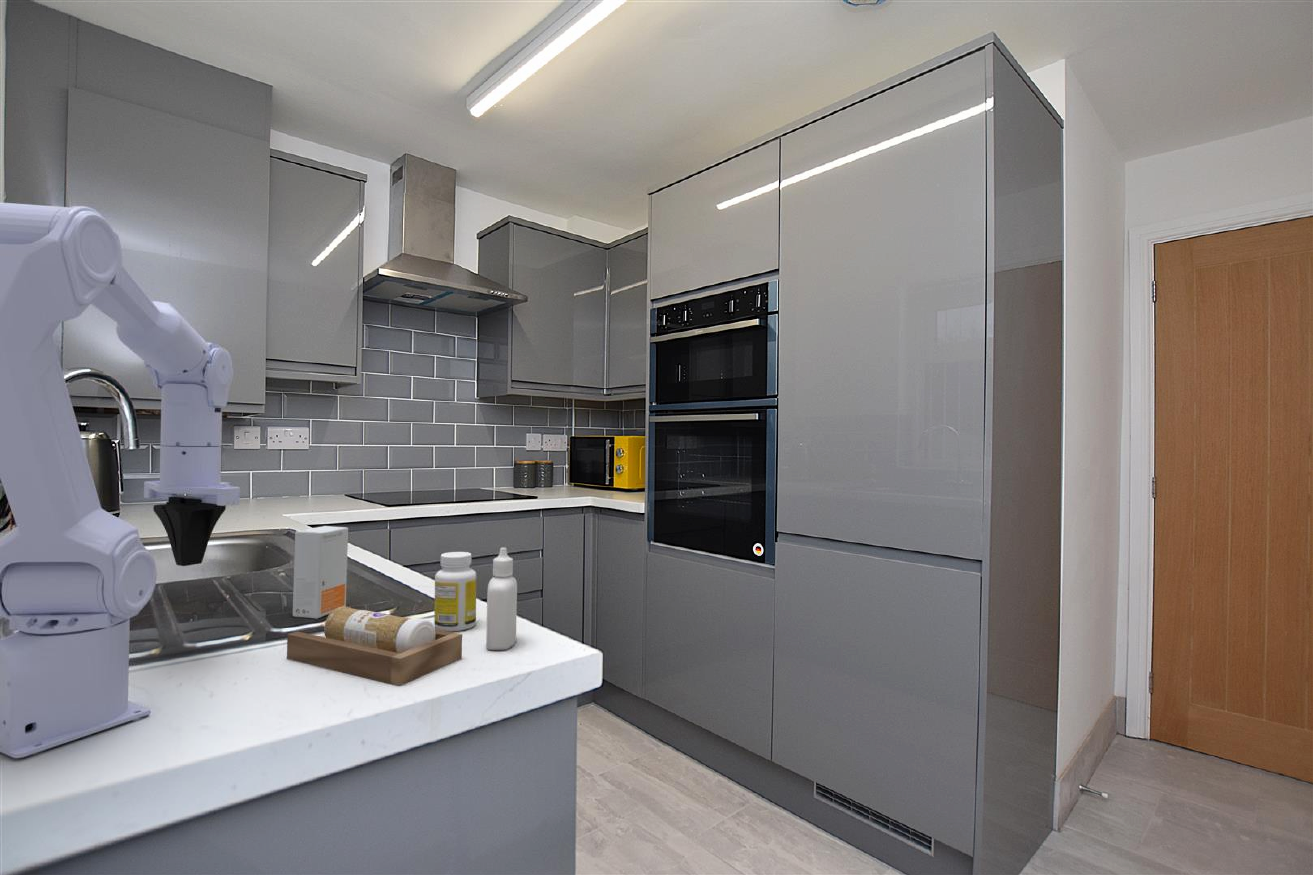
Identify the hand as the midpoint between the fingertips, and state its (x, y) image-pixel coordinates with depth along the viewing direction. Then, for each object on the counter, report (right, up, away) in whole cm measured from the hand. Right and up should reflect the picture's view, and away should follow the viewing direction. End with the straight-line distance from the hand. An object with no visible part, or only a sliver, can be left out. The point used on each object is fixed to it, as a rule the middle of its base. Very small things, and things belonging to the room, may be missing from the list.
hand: (189, 564), depth 75 cm
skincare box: (+6, -11, +18) cm, 22 cm away
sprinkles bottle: (+15, -8, +4) cm, 17 cm away
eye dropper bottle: (+34, -11, +6) cm, 37 cm away
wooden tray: (+21, -11, 0) cm, 23 cm away
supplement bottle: (+27, -11, +13) cm, 32 cm away
